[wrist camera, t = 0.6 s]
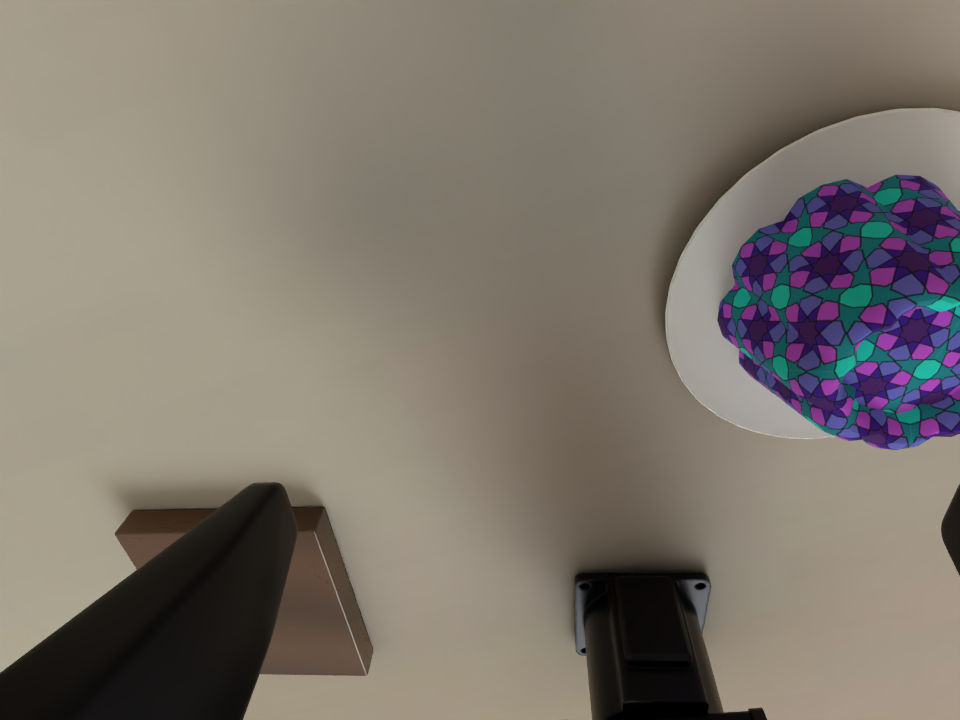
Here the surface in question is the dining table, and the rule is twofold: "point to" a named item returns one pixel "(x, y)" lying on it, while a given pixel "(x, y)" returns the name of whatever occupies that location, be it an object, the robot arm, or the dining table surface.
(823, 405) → the pudding
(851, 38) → the dining table surface
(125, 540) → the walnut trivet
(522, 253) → the dining table surface
